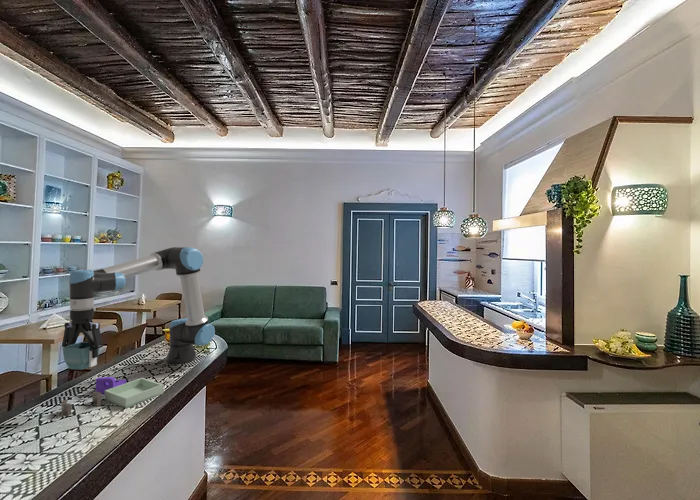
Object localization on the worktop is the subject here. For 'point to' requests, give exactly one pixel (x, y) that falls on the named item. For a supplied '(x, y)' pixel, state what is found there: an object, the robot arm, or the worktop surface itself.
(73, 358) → the flower pot
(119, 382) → the bracket
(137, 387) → the pale green square tray
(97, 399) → the holder
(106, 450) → the worktop surface
